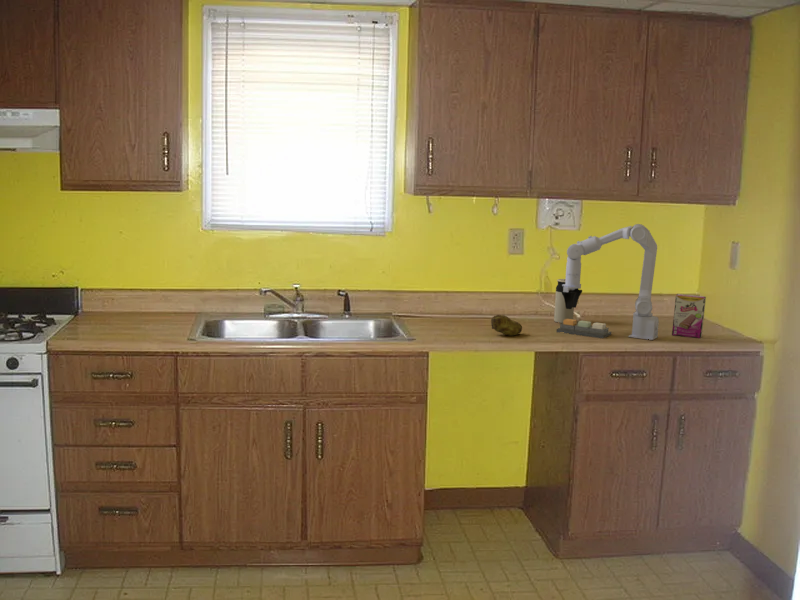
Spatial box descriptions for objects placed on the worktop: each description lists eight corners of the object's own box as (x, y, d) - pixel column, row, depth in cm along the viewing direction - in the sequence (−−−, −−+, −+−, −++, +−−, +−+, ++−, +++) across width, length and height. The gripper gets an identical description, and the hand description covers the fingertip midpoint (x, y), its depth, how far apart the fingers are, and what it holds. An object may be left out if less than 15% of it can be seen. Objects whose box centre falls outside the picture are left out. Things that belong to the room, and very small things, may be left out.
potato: (525, 337, 315) (526, 316, 314) (492, 337, 314) (493, 316, 312) (520, 333, 323) (521, 313, 322) (487, 332, 322) (488, 312, 320)
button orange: (576, 324, 330) (576, 319, 330) (572, 326, 327) (573, 321, 326) (566, 323, 332) (567, 318, 332) (563, 324, 329) (563, 320, 328)
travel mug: (562, 324, 344) (565, 281, 342) (550, 321, 351) (552, 279, 348) (576, 323, 348) (579, 280, 346) (564, 319, 355) (566, 278, 352)
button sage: (590, 326, 327) (591, 321, 326) (587, 328, 323) (587, 323, 323) (581, 325, 329) (581, 320, 329) (577, 326, 326) (577, 321, 325)
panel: (611, 334, 326) (611, 327, 325) (603, 338, 317) (603, 330, 317) (565, 328, 336) (566, 321, 335) (556, 332, 327) (556, 324, 327)
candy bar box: (671, 335, 328) (675, 294, 325) (673, 333, 332) (676, 293, 330) (701, 338, 323) (705, 297, 321) (702, 336, 328) (706, 295, 325)
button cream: (605, 328, 324) (605, 323, 323) (602, 330, 320) (602, 325, 320) (595, 327, 326) (596, 322, 325) (592, 328, 322) (592, 323, 322)
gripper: (570, 271, 334) (567, 304, 336) (556, 275, 322) (554, 309, 324) (586, 273, 331) (584, 306, 333) (574, 276, 318) (571, 311, 321)
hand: (570, 308), depth 328 cm, fingers open, 4 cm apart
